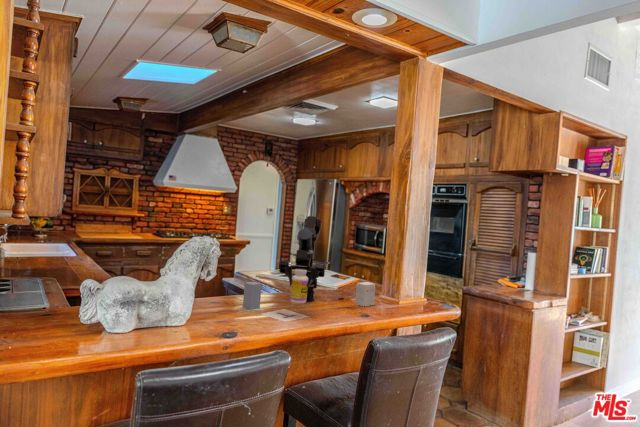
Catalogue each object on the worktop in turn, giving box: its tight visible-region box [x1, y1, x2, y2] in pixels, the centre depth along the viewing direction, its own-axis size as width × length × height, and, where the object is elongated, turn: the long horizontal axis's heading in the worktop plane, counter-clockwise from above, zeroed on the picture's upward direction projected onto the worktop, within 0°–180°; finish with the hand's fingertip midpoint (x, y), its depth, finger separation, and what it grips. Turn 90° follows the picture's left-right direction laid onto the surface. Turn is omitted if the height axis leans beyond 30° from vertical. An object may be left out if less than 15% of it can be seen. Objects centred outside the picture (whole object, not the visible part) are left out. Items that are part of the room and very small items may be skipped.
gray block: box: [242, 281, 263, 311], centre depth 179 cm, size 5×5×11 cm
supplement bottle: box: [289, 269, 308, 304], centre depth 172 cm, size 7×7×13 cm
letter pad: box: [260, 308, 310, 323], centre depth 172 cm, size 14×14×1 cm
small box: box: [354, 281, 376, 308], centre depth 206 cm, size 8×6×10 cm
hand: (299, 285), depth 170 cm, fingers closed on supplement bottle, 7 cm apart
